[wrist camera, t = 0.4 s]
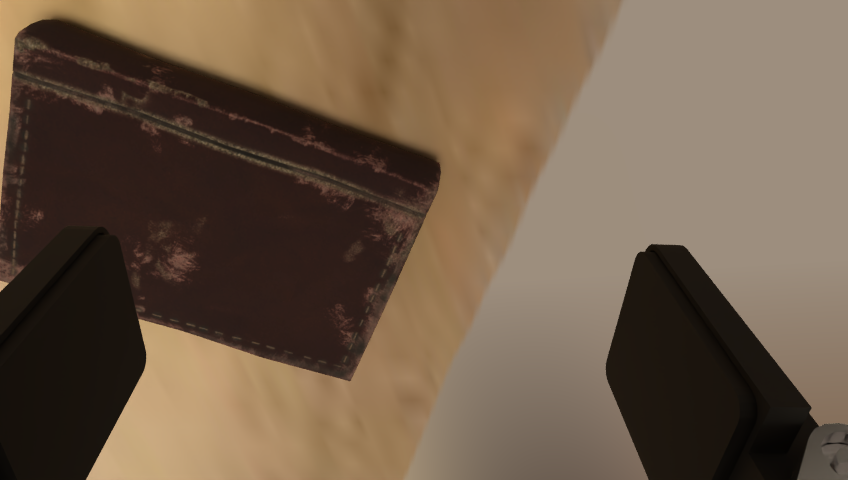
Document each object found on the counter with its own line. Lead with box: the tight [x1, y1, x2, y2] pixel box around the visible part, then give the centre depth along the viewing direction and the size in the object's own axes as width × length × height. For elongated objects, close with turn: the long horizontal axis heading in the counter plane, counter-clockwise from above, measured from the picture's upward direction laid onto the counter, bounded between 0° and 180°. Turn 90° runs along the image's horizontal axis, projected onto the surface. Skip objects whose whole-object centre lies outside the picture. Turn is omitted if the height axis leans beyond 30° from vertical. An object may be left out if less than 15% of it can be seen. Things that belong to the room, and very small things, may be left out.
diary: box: [0, 20, 441, 381], centre depth 41 cm, size 19×25×5 cm
